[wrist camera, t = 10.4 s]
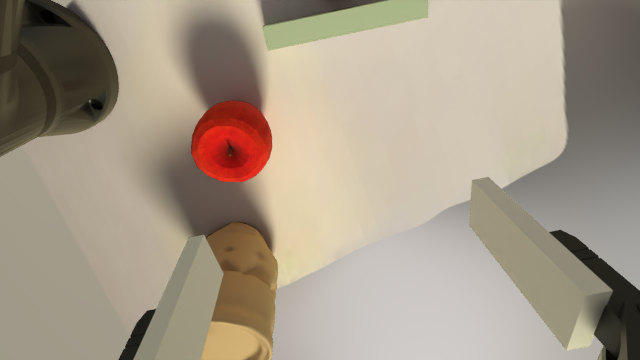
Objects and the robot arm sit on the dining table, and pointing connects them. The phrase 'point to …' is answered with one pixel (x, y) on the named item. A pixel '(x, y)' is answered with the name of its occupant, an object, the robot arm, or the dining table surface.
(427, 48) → the dining table surface
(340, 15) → the rail
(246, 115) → the apple
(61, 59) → the robot arm
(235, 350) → the container
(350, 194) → the dining table surface
